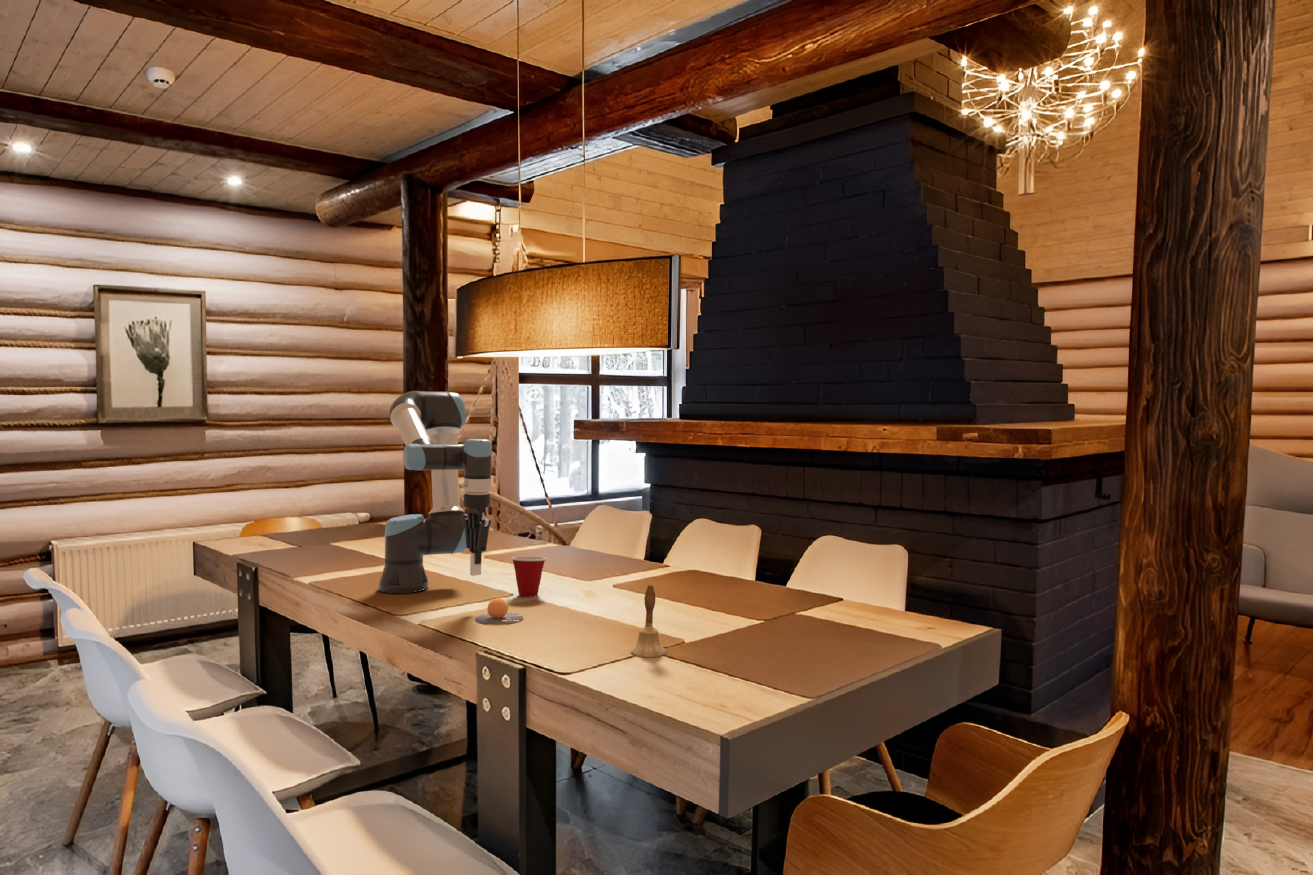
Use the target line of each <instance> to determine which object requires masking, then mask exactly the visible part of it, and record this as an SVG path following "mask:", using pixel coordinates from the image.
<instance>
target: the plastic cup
mask: <svg viewBox="0 0 1313 875" xmlns="http://www.w3.org/2000/svg"><path fill="white" fill-rule="evenodd" d="M511 560H512V563H513V567H514V573H515V580H516V586H517V591H518V596H519V597H522V598H534V597H536V596H538V594H539V590H540V584H541V579H542V573H543V568H544V565H545V562H546V561H547V558H546V557H544V556H543V557H542V556H513V557H511Z"/></svg>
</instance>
